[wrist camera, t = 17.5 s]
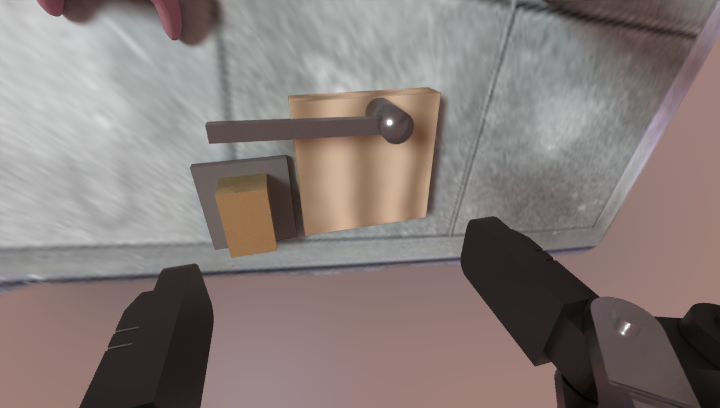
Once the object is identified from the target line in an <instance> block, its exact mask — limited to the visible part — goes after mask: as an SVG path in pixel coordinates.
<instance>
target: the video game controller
mask: <svg viewBox="0 0 720 408" xmlns="http://www.w3.org/2000/svg"><path fill="white" fill-rule="evenodd" d="M37 1H38V3H39V4H40V6H41V7H42V8H43V9H44V10H45V11H46V12H47V13H49V14H50V15H53V16H57V17H58V16H60V15H61V14H62V13H63V10H64V4H65V1H64V0H37ZM150 1H152V3H153V4H154V5H155V7H156V9H157V12H158V14H159V16H160V19H161V22H162V25H163V28H164V30H165V32H166V33H167V35H168V36H169V37H170V38H171V39H172V40H178V39H179V37H180V36H181V32H182V14H181V9H180V4H179V0H150Z"/></svg>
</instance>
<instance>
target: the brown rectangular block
mask: <svg viewBox="0 0 720 408" xmlns="http://www.w3.org/2000/svg"><path fill="white" fill-rule="evenodd" d="M215 198H216V202H217V206H218V210H219V213H220V217H221V221H222V224H223V228H224V232H225V236H226V239H227V243H228V247H229V251H230V254H231V258H233V257H239V256H246V255H252V254H258V253H265V252H271V251H277V239H276V228H275V222H274V216H273V210H272V204H271V198H270V192H269V186H268V180H267V174H266V173H263V174H253V175H244V176H234V177H225V178H219V181H218V185H217V189H216V192H215Z"/></svg>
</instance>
